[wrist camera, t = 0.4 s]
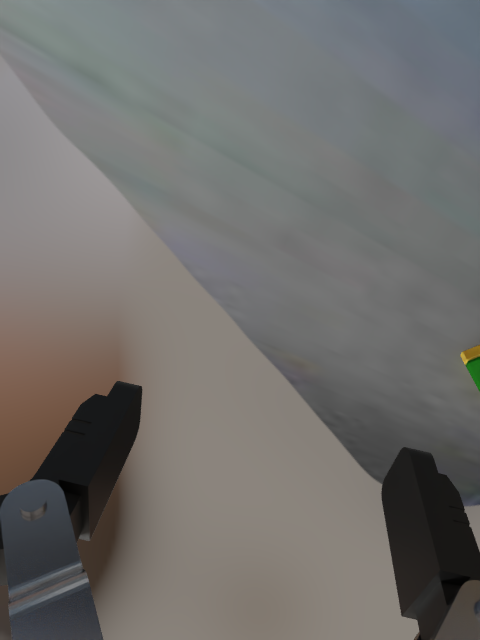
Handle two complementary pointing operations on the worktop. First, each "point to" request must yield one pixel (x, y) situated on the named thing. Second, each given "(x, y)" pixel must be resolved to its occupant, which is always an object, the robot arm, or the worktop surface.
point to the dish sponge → (473, 363)
